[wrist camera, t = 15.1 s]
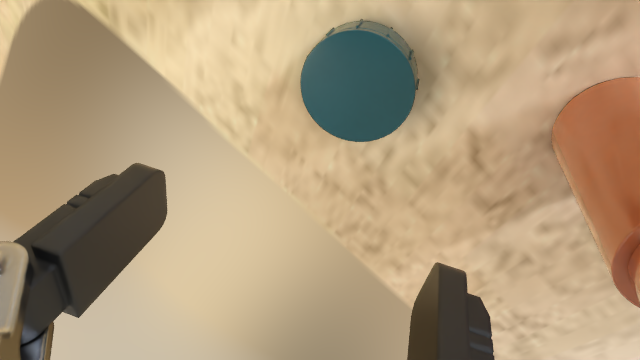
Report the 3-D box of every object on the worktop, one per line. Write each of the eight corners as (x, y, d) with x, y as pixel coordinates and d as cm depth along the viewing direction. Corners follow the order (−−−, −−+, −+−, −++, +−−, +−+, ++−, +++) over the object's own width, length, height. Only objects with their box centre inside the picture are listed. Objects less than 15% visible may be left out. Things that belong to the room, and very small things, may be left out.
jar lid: (321, 7, 19) (311, 15, 18) (434, 38, 19) (433, 49, 17) (302, 109, 22) (292, 123, 21) (398, 138, 22) (394, 155, 20)
